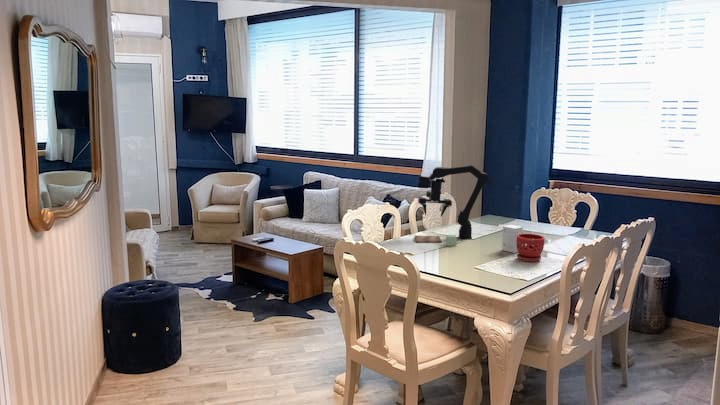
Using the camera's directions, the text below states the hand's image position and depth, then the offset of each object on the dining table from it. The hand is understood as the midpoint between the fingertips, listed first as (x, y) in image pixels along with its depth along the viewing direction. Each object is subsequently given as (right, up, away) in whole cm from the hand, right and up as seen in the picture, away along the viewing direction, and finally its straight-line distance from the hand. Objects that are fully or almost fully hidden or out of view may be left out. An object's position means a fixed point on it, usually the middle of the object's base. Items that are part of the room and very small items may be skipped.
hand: (433, 216), depth 320 cm
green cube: (+8, -15, -16) cm, 23 cm away
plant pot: (+42, -21, -45) cm, 64 cm away
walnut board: (-4, -13, -5) cm, 15 cm away
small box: (+37, -18, -29) cm, 50 cm away
